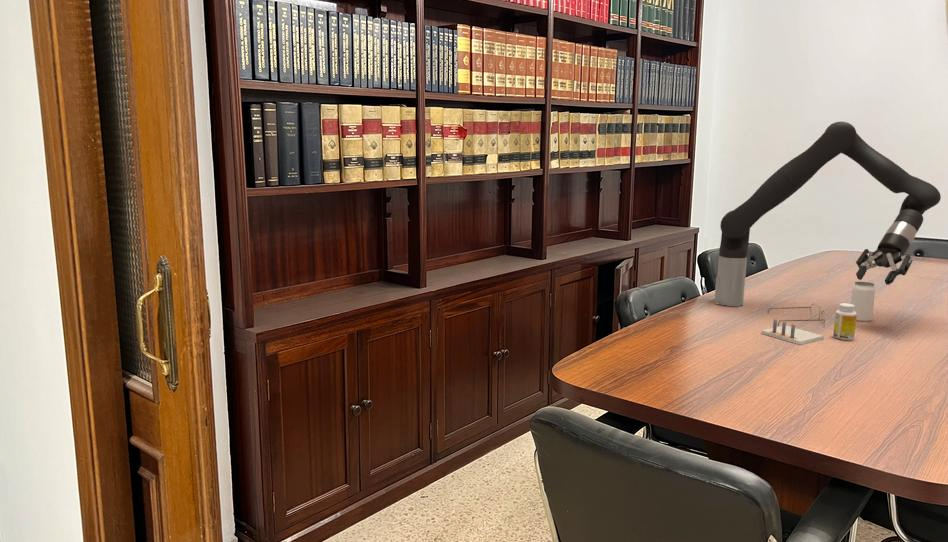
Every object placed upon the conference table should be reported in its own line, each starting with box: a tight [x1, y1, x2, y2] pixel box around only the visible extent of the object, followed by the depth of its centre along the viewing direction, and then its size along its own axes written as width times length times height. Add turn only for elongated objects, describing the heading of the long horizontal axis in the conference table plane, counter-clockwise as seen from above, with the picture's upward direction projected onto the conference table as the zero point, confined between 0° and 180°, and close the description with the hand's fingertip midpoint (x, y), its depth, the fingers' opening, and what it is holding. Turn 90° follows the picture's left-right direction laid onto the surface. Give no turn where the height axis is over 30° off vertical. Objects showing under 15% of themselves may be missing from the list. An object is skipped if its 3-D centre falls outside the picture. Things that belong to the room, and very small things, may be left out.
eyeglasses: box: [767, 303, 826, 327], centre depth 223 cm, size 16×15×5 cm
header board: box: [761, 319, 825, 345], centre depth 206 cm, size 13×11×5 cm
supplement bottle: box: [833, 302, 857, 341], centre depth 204 cm, size 6×6×10 cm
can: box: [850, 281, 876, 323], centre depth 224 cm, size 6×6×12 cm
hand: (872, 280), depth 208 cm, fingers open, 8 cm apart
